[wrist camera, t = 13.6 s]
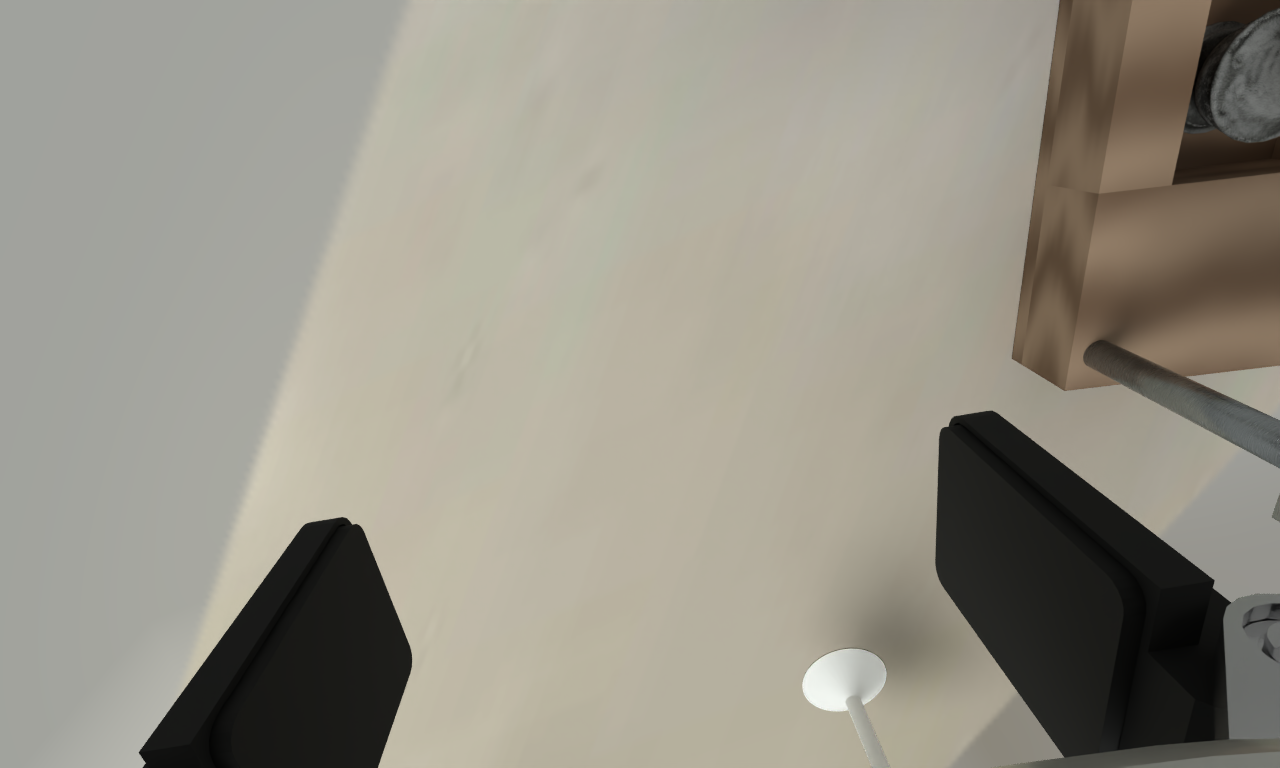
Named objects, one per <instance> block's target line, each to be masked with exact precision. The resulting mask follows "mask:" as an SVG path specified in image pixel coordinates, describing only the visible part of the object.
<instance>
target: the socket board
mask: <svg viewBox="0 0 1280 768" xmlns="http://www.w3.org/2000/svg"><path fill="white" fill-rule="evenodd" d="M1277 8H1280V0H1060V6H1059V13H1058V21H1057V28H1056V35H1055V43H1054V50H1053V58H1052V65H1051V73H1050V80H1049V87H1048V95H1047V102H1046V110H1045V117H1044V125H1043V132H1042V139H1041V147H1040V154H1039V162H1038V169H1037V177H1036V184H1035V191H1034V199H1033V206H1032V214H1031V221H1030V229H1029V236H1028V243H1027V251H1026V258H1025V266H1024V273H1023V281H1022V288H1021V295H1020V303H1019V310H1018V318H1017V325H1016V333H1015V340H1014V347H1013V355H1012V359H1013V360H1015V361H1017V362H1018V363H1020V364H1022V365H1023V366H1025V367H1027V368H1028V369H1030V370H1031V371H1033V372H1035V373H1036V374H1038V375H1040V376H1041V377H1043V378H1045V379H1046V380H1048V381H1049V382H1051V383H1053V384H1054V385H1056V386H1058V387H1059V388H1061V389H1063V390H1064V391H1067V390H1076V389H1084V388H1093V387H1101V386H1110V385H1118V384H1120V383H1118V382H1116V381H1114V380H1112V379H1111V378H1109V377H1107V376H1105V375H1103V374H1101V373H1099V372H1097V371H1096V370H1094V369H1092V368H1090V367H1088V366H1086V365H1085V363H1084V361H1083V355H1084V352H1085V350H1086V349H1087V347H1088V346H1089V345H1091V344H1092V343H1094V342H1096V341H1099V340H1106V341H1108V342H1110V343H1113V344H1115V345H1117V346H1119V347H1121V348H1123V349H1126V350H1128V351H1130V352H1132V353H1134V354H1136V355H1139V356H1141V357H1143V358H1145V359H1147V360H1150V361H1152V362H1154V363H1156V364H1158V365H1160V366H1163V367H1165V368H1167V369H1169V370H1171V371H1173V372H1176V373H1178V374H1180V375H1182V376H1184V377H1186V376H1195V375H1203V374H1211V373H1220V372H1228V371H1237V370H1245V369H1254V368H1262V367H1271V366H1279V365H1280V136H1279V137H1276V138H1273V139H1270V140H1267V141H1264V142H1253V143H1245V142H1241V141H1237V140H1233V139H1231V138H1230V137H1228V136H1227V135H1225V134H1224V133H1222V132H1220V131H1219V130H1217V129H1214V130H1212V131H1209V132H1206V133H1197V134H1188V133H1184V132H1183V131H1184V126H1185V121H1186V117H1187V112H1188V108H1189V103H1190V98H1191V94H1192V89H1193V84H1194V80H1195V75H1196V71H1197V66H1198V61H1199V57H1200V52H1201V47H1202V43H1203V38H1204V33H1205V29H1206V26H1209V25H1212V24H1214V23H1217V22H1226V21H1236V22H1239V23H1243V24H1248V23H1249V22H1251V21H1254V20H1256V19H1257V18H1259V17H1260V16H1262V15H1264V14H1265V13H1267V12H1268V11H1271V10H1274V9H1277Z"/></svg>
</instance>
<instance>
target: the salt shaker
mask: <svg viewBox="0 0 1280 768" xmlns="http://www.w3.org/2000/svg"><path fill="white" fill-rule="evenodd" d="M1214 129H1217V130H1219V131H1220V132H1222V133H1224V134H1225V135H1227V136H1228V137H1230V138H1231V139H1233V140H1237V141H1241V142H1245V143H1253V142H1264V141H1267V140H1270V139H1273V138H1276V137H1279V136H1280V8H1277V9H1274V10H1271V11H1268V12H1267V13H1265V14H1264V15H1262V16H1260V17H1259V18H1257V19H1256V20H1254V21H1251V22H1249V23H1248V24H1243V23H1239V22H1236V21H1226V22H1217V23H1214V24H1212V25H1209V26H1206V29H1205V33H1204V38H1203V43H1202V47H1201V52H1200V57H1199V61H1198V66H1197V71H1196V75H1195V80H1194V84H1193V89H1192V94H1191V98H1190V103H1189V108H1188V112H1187V117H1186V121H1185V126H1184V131H1183V132H1184V133H1188V134H1197V133H1206V132H1209V131H1212V130H1214Z"/></svg>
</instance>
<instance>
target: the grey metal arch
mask: <svg viewBox="0 0 1280 768" xmlns="http://www.w3.org/2000/svg"><path fill="white" fill-rule="evenodd" d="M1083 361H1084V363H1085V365H1086V366H1088V367H1090V368H1092V369H1094V370H1096V371H1097V372H1099V373H1101V374H1103V375H1105V376H1107V377H1109V378H1111V379H1112V380H1114V381H1116V382H1118V383H1120V384H1122V385H1124V386H1126V387H1128V388H1129V389H1131V390H1133V391H1135V392H1137V393H1139V394H1141V395H1143V396H1144V397H1146V398H1148V399H1150V400H1152V401H1154V402H1156V403H1158V404H1160V405H1161V406H1163V407H1165V408H1167V409H1169V410H1171V411H1173V412H1175V413H1176V414H1178V415H1180V416H1182V417H1184V418H1186V419H1188V420H1190V421H1192V422H1193V423H1195V424H1197V425H1199V426H1201V427H1203V428H1205V429H1207V430H1209V431H1210V432H1212V433H1214V434H1216V435H1218V436H1220V437H1222V438H1224V439H1225V440H1227V441H1229V442H1231V443H1233V444H1235V445H1237V446H1239V447H1241V448H1242V449H1244V450H1246V451H1248V452H1250V453H1252V454H1254V455H1256V456H1258V457H1259V458H1261V459H1263V460H1265V461H1267V462H1269V463H1271V464H1273V465H1274V466H1276V467H1278V468H1280V420H1278V419H1276V418H1273V417H1271V416H1269V415H1267V414H1265V413H1263V412H1260V411H1258V410H1256V409H1254V408H1252V407H1249V406H1247V405H1245V404H1243V403H1241V402H1239V401H1236V400H1234V399H1232V398H1230V397H1228V396H1226V395H1223V394H1221V393H1219V392H1217V391H1215V390H1213V389H1210V388H1208V387H1206V386H1204V385H1202V384H1200V383H1197V382H1195V381H1193V380H1191V379H1189V378H1186V377H1184V376H1182V375H1180V374H1178V373H1176V372H1173V371H1171V370H1169V369H1167V368H1165V367H1163V366H1160V365H1158V364H1156V363H1154V362H1152V361H1150V360H1147V359H1145V358H1143V357H1141V356H1139V355H1136V354H1134V353H1132V352H1130V351H1128V350H1126V349H1123V348H1121V347H1119V346H1117V345H1115V344H1113V343H1110V342H1108V341H1106V340H1099V341H1096V342H1094V343H1092V344H1091V345H1089V346H1088V347H1087V349H1086V350H1085V352H1084V355H1083ZM1272 518H1274V519H1275V520H1277V521H1279V522H1280V495H1279V498H1278V500H1277V503H1276V506H1275V509H1274V512H1273V515H1272Z"/></svg>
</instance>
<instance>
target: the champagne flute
mask: <svg viewBox="0 0 1280 768" xmlns="http://www.w3.org/2000/svg"><path fill="white" fill-rule="evenodd" d="M886 674H887V672H886V667H885V665H884V663H883V661H882V660H881V659H880V658H879V657H878V656H876V655H875V654H873V653H871V652H869V651H866V650H862V649H841V650H838V651H834V652H831V653H829V654H826V655H824V656H823V657H821V658H820V659H818V660H817V661H816V662H814V663H813V664H812V665H811V667H810V668H809V669H808V670H807V672H806V674H805V676H804V679H803V692H804V695H805V696H806V698H807V700H808V701H809V702H810V703H812V704H813V705H815V706H816V707H818V708H821V709H824V710H829V711H845V710H849V713H850V715H851V718H852V720H853V723H854V725H855V728H856V730H857V732H858V735H859V737H860V740H861V742H862V745H863V747H864V750H865V752H866V755H867V757H868V760H869V762H870V764H871V767H872V768H890V765H889V763H888V761H887V758H886V756H885V754H884V752H883V749H882V747H881V745H880V742H879V740H878V738H877V735H876V733H875V731H874V729H873V726H872V724H871V722H870V719H869V717H868V715H867V712H866V710H865V708H864V706H863V705H864V704H866V703H867V702H869V701H871V700H872V699H873V698H874V697H876V695H877V694H878V693H879V692H880V691H881V689H882V688H883V686H884V684H885V681H886Z"/></svg>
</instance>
